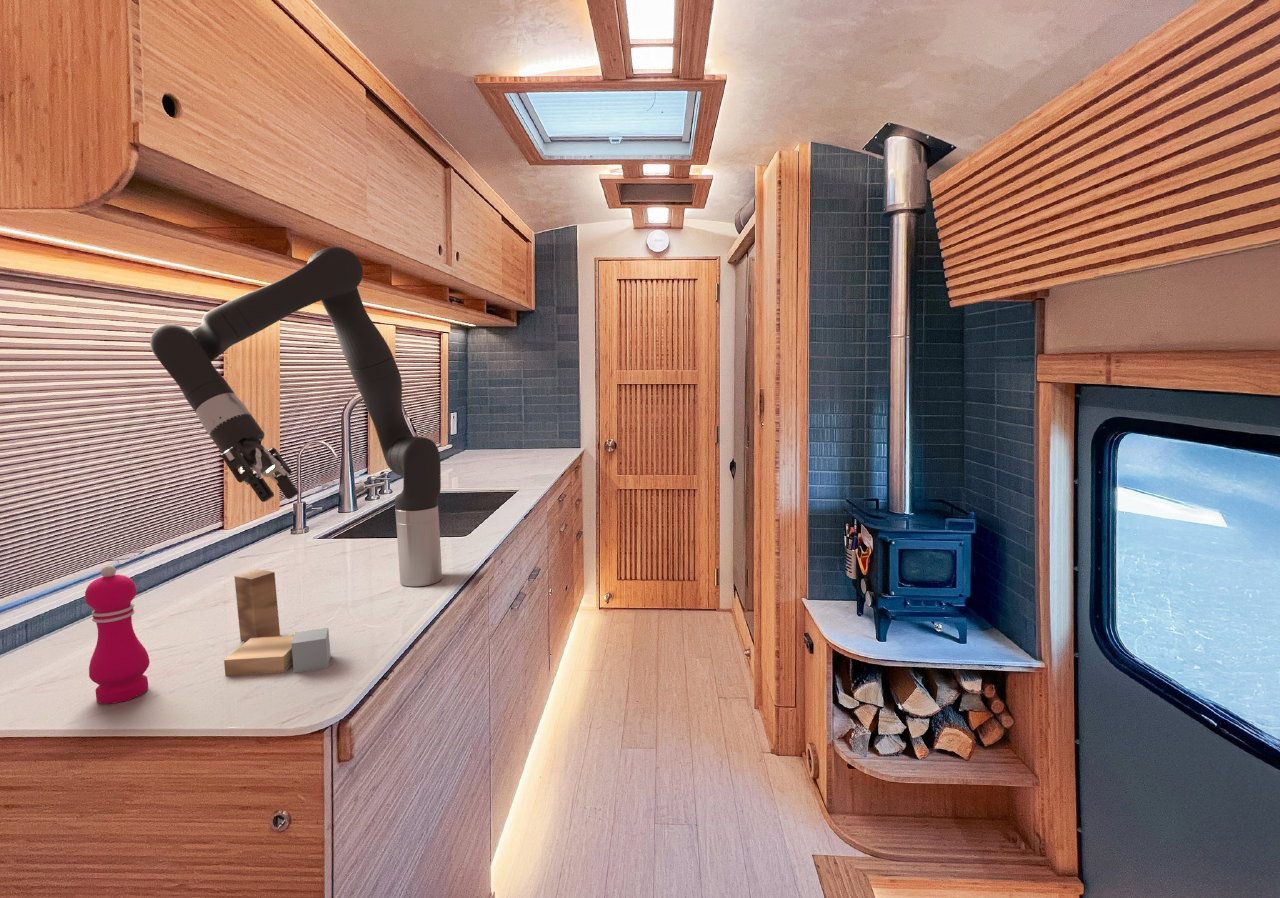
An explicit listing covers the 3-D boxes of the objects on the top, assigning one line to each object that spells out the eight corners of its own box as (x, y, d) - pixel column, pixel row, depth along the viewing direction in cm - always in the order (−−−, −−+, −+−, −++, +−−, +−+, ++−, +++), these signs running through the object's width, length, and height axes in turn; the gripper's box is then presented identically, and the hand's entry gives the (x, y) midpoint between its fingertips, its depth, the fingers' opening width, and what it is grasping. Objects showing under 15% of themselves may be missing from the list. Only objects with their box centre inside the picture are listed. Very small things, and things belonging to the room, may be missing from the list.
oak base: (252, 654, 116) (250, 638, 116) (306, 651, 117) (305, 634, 117) (225, 677, 107) (223, 659, 107) (284, 674, 108) (283, 656, 108)
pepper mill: (133, 680, 106) (119, 557, 104) (163, 687, 103) (149, 561, 101) (81, 701, 100) (64, 570, 97) (111, 709, 97) (95, 575, 94)
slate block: (297, 660, 112) (295, 632, 112) (330, 655, 114) (328, 627, 113) (294, 673, 108) (291, 643, 107) (328, 667, 109) (325, 638, 109)
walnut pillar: (240, 640, 121) (234, 576, 120) (263, 631, 125) (257, 569, 124) (257, 644, 119) (251, 579, 118) (280, 635, 123) (274, 571, 122)
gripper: (223, 409, 114) (278, 487, 114) (268, 414, 128) (317, 484, 128) (186, 434, 114) (241, 513, 114) (236, 437, 128) (285, 507, 128)
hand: (281, 497), depth 121 cm, fingers open, 8 cm apart
